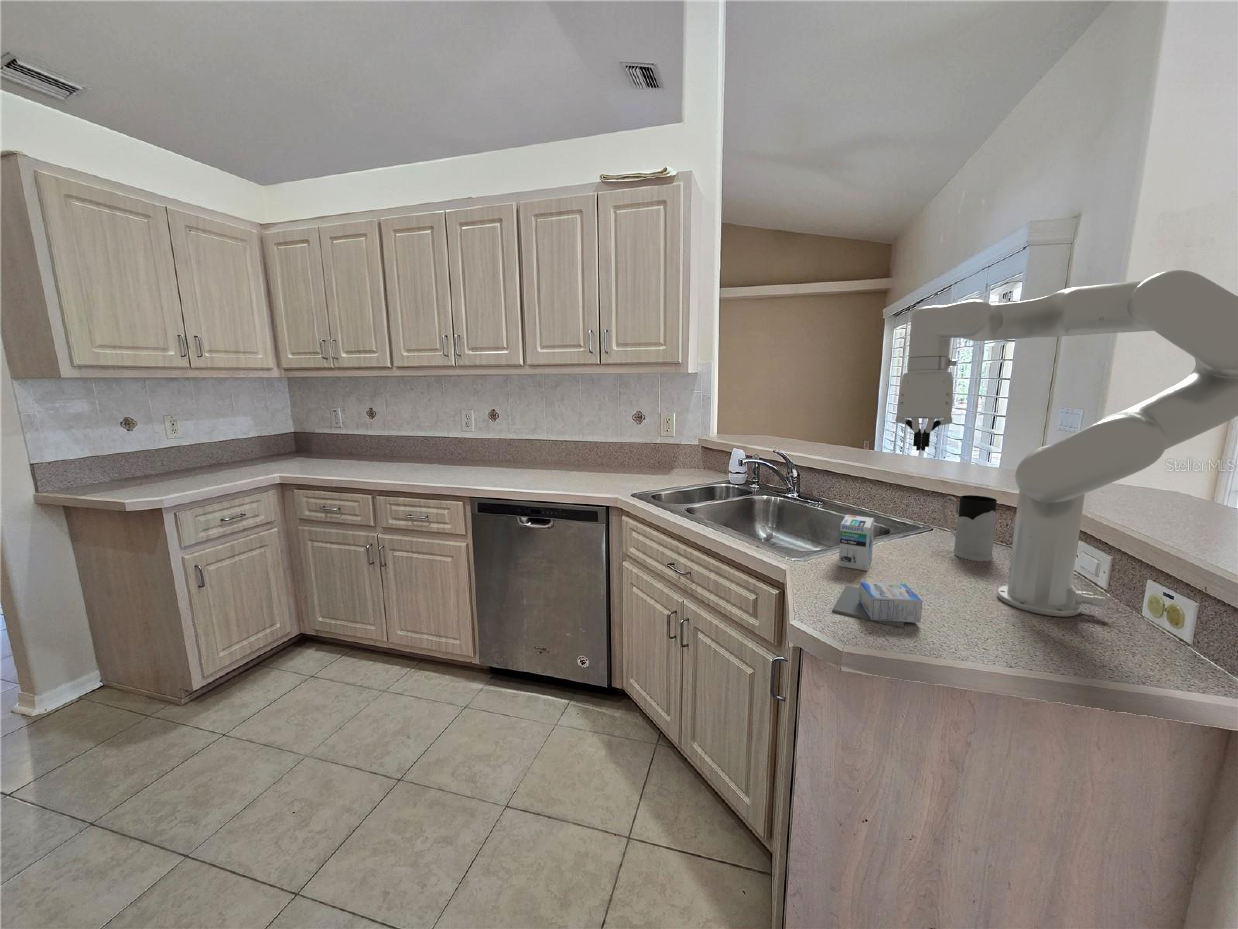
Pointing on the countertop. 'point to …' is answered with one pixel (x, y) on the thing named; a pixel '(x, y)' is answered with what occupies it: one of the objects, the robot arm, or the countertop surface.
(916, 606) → the medicine box
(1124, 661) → the countertop surface
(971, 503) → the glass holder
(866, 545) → the light bulb box
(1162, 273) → the robot arm
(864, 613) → the mat
